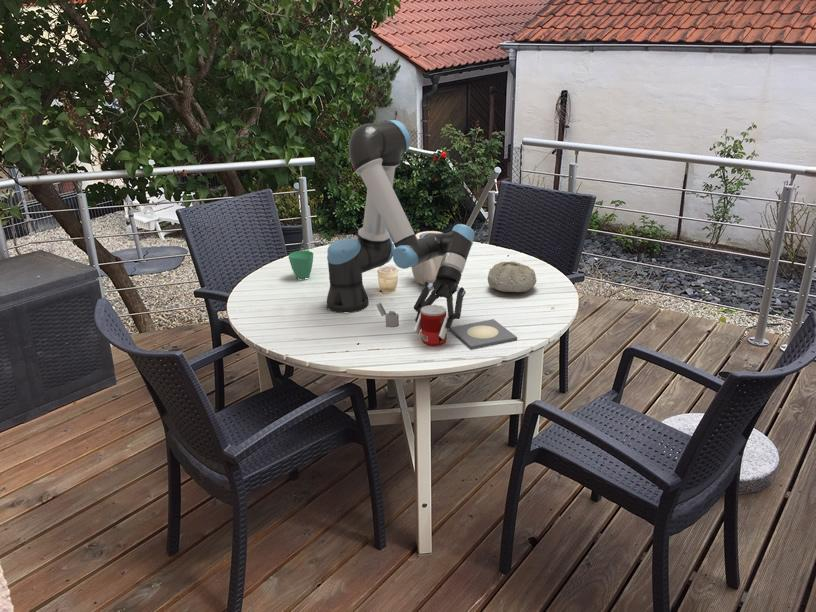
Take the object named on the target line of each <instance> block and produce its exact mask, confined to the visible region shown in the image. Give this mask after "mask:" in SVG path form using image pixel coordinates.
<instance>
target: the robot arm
mask: <svg viewBox="0 0 816 612" xmlns="http://www.w3.org/2000/svg"><path fill="white" fill-rule="evenodd" d="M410 146H411V137H410V133H409V131H408V130H407V127H406V126H405V124H403V123H402V122H401V121H399V120H397V119H396V120H395V119H390V120H389V119H386V120H383V121H375V122H371V123H365V124H361V125H359V126H358V127H356V128H355V129H354V131H353V132H352V134H351V135H350V138H349V143H348V155H349V159H350V163H351V165H352V168H353V170H354V172H355V173H356V174H357V175H359V176H360V177H361V178H362V179H361V180H362V181H363V184H364V185H365V187H366V189H367V191H366V198H365V200H366V201H365V206H364V214H363V216H364V217H363V223H362V227H360V228H359V229H358V230H357V239H356V238H352V237H350V238H344V239H343V238H342V239H338V240H336V241H333V242H332V243H330V244H329V245H328V247H327V256H326V259H327V265H328V266H327V267H328V276H329V277H328V279H329V289H328V293H327V297H326V301H325V302H326V309H328V310H329V309H330V310H329V311H331V310H332V311H331V312H333V311H336V312H335V313H339V312H350V313H356V312H359V310H360V311H363V310H364V308H365V309H367V308H368V306H369V304H370V301H369V296H368V293H367V292H366V288H365V286H364V283H363V273H366V272H368V271H371V270H374V269H376V268H381V267H382V266H384V265H385V264H388V263H390V261H391V260H392V259H393V263H394V265H396V266H397V267H398V268H400V269H409V268H412V267H414V266H416V265H417V264H420V263H422V262H425V261H428V260H430V259H432V258H435V257H438V256H443V259H442V261H441V264H440V266H441V267H439V270H438V273H437V276H436V280H435V281H434V282H433V283H428V282H425V283H424V285H423V288H422V291H421V292H420V295H419V297H418V298H417V300H416V302H415V304H414V305H413V310H414V311H415V312H416V313H417V314H416V317H415V320H414V321H415V323H416V324H415V327H414V329H413V332H414V333H415V334H416V335H420V334H421V308H422V307H424V306H428V305H434V303H435V301H436V300H438V299H439V298H445V300H446V307H447V308H446V310H447V315H446V316H445V319H444V322H443V325H442V328H441V331H440V334H439V336H440V338H441V339H444V338H445V335H446V332H448V330H450V328H451V327H452V325H453V321H454V320H460V319H461V314H462V307H463V300H464V296H465V295H466V290H465V289H464V287H463V286H461V287H459V284H460V282H461V278H462V277H463V276H462V275H463V272H464V269H465V267H466V264H467V263H466V262H467V260H468V257H469V254H470V251H471V249H472V246H473V244H474V239H475V231H474V229H472V227H470V226H469V225H466V224H463V223H457V224H456V225H454V226H453V228H452V229H451V232H446V233H445V232H441V233H436V234H434V233H429V234H425V235H422V236H421V237H420V238H419V239H418V240H417V237H416V236H415V235H416V234H415V232H414V229H413V227H412V225H411V223H410V221H409V219H408V217H407V215H406V213H405V211H404V209H403V207H402V204H401V202H400V200H399V199H398V196H397V194H396V192H395V190H394V179H395V172H396V168H397V167H398V166H400V165H401V163H402V161H401V160H402V155H404V154H405V153H406V152H408V150H409V149H410ZM432 288H433V290H432ZM430 291H431V292H430ZM455 293H456V294H457V295H456V298H455V299H456V300H455V304H454V299H453V297H454V296H453V295H454V294H455ZM429 294H430V295H429ZM454 305H455V307H454ZM362 309H363V310H362ZM355 311H356V312H355Z"/></svg>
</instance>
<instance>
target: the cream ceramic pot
mask: <svg viewBox="0 0 816 612" xmlns="http://www.w3.org/2000/svg"><path fill="white" fill-rule="evenodd" d="M429 233H434V234H436V233H442V232H441V231H438V230H437V231H435V230H431V231H430V230H426V231H421V232H417V233H416V234H415V236H416V237H417V240H418V239H419V238H420V237H421V236H422V235H425V234H429ZM442 259H443V256H438V257H435V258H432V259H430V260H428V261H425V262H422V263H420V264H417V265H416V266H414V267H411V273H412V274H413V278H414V280H415V283H418V284H420V285H423V286H424V283H425V282H428V283H433V282H434V281H435V280H436V276H437V273H438V270H439V267H441V266H440V264H441V261H442Z"/></svg>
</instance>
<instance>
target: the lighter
mask: <svg viewBox="0 0 816 612" xmlns="http://www.w3.org/2000/svg"><path fill="white" fill-rule="evenodd" d="M375 306H376V308H377V310H378V312H379V314H380V317H384V316H385V317H384V318H385V327H386V328H395V327H398V326H400V319H399V316H400V315H399V313H397V312H396V311H395V310H389V311H388V313H387V311H386V310H385V307H384V306H383V303H382V302H379V303H377V304H376V305H375ZM398 328H399V327H398Z"/></svg>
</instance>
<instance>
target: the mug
mask: <svg viewBox="0 0 816 612" xmlns="http://www.w3.org/2000/svg"><path fill="white" fill-rule="evenodd" d="M288 260H289V263H290V266H291V270H292V271H293V274H294V275H295V277H296V279H297V278H299V279H305V278H309V279H310V275H311V272H312V269H313V268H312V267H313V262H314V253H313V252H312V251H310V250H309V249H307V248H306V249H303V250H298V251H293V252H290V253H289V254H288Z"/></svg>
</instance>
